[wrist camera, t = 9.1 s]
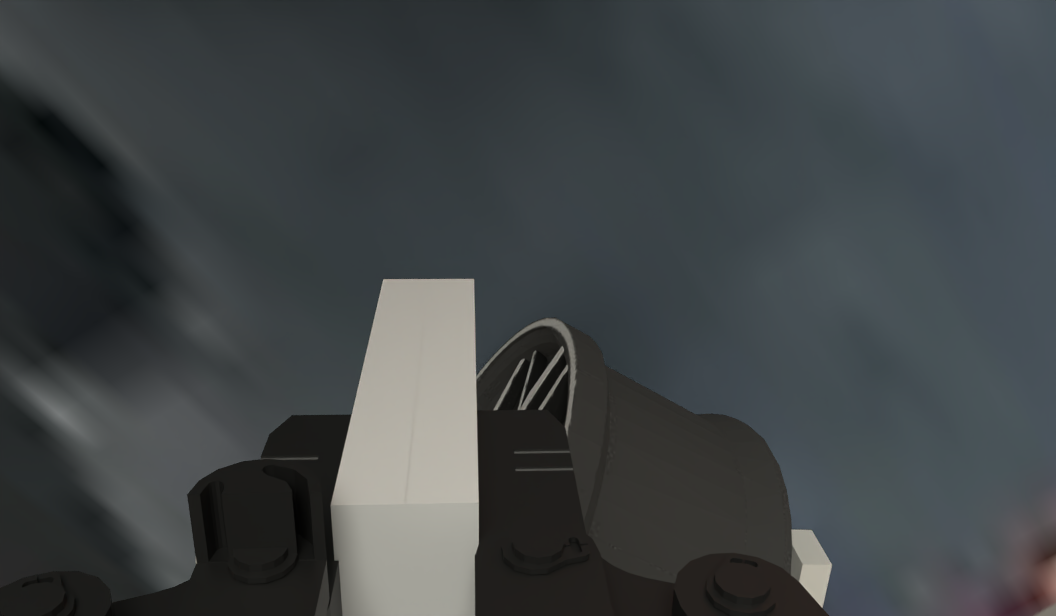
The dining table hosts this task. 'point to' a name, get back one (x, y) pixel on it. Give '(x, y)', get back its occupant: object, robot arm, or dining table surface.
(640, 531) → the wheel rim
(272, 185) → the dining table surface
